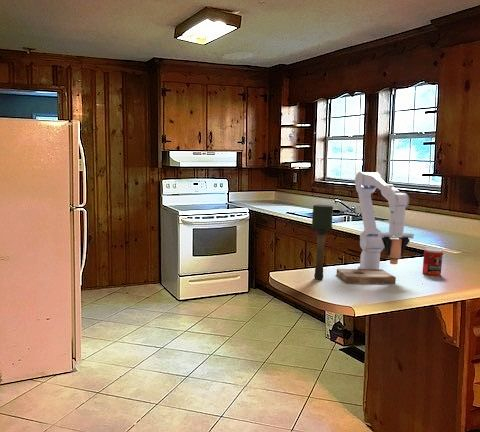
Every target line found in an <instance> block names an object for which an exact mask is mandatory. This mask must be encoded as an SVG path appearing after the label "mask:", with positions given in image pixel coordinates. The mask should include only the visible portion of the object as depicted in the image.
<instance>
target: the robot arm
mask: <svg viewBox="0 0 480 432" xmlns="http://www.w3.org/2000/svg"><path fill="white" fill-rule="evenodd" d="M354 186H355V189H356V190H355V191H356V192H357V194H358V201H359V206H360V210H361V211H360V212H361V217H362V223H363V229H364V230H363V231H362V232H361V233H360V234H359V246H360V248H361V250H362V251H361V253H360V259H359V263H360V264H359V266H357V269H380V262H381V259H380V258H381V252H383V250H384V249H385V255H386V256H387V257H388V256H390V247H391V243H392V240H391V239H392V238H393V239H401V240H402V246H401V257H403V255H404V252H405V250H406V248H407V246H408V245H409V243H410V239H414V235H415V234H414V233H412V232H404V231H405V230H404V229H405V217H406V208H407V207H408V206H409V205H410V197H409V195H408V193H406V192H400V190H399V189H397V188H396V187H394V186H395V185H394V184H392V183H386V181H384V179H382V175H381V174H380V173H379V172H378V171H377V172H369V171H366V172H364V171H358V172H357V173H356V175H355V177H354ZM377 189H378V190H379V191H380V193H381V195H382V197H384V198H385V200H386V201H388V202H387V203H388V207H389V208H388V210H389V211H390V212H389V227H388V231H387V232H385V231H383V232H382V231H381V230H380V229H379V228H377V224H376V223H377V222H376V218H375V212H374V207H373V202H372V201H373V200H372V194H374V193H375V191H376V190H377Z"/></svg>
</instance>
